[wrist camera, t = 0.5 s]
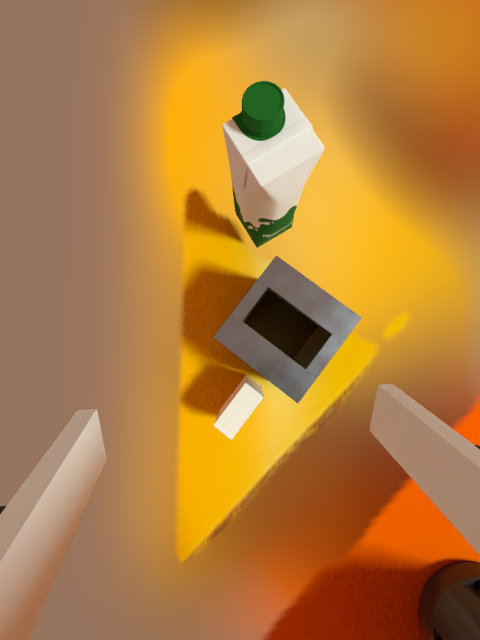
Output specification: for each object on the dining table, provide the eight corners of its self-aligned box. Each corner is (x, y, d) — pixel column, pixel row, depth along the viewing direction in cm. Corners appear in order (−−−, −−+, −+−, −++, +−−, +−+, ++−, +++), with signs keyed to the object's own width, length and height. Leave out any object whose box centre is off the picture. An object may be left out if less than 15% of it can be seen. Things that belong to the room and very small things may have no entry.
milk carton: (272, 186, 43) (290, 56, 23) (299, 229, 43) (342, 132, 23) (228, 212, 43) (210, 104, 23) (255, 255, 43) (259, 181, 23)
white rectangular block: (246, 374, 41) (245, 382, 33) (261, 385, 41) (263, 396, 33) (220, 408, 41) (213, 425, 33) (235, 420, 41) (231, 440, 33)
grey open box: (326, 324, 41) (361, 317, 28) (282, 383, 41) (297, 403, 28) (268, 281, 42) (276, 255, 29) (224, 338, 42) (213, 337, 29)
